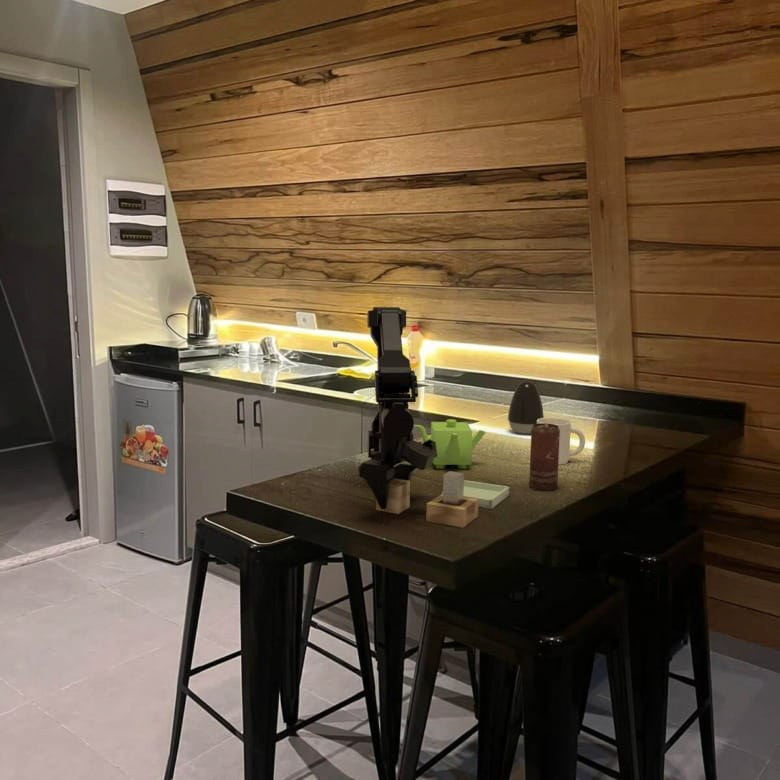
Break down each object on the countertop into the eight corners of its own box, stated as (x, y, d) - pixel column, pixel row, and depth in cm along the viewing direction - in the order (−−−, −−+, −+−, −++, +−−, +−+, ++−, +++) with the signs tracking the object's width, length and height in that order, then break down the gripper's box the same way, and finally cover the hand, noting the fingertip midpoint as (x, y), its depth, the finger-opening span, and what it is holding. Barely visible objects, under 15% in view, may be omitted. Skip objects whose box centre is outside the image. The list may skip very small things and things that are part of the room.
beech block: (376, 510, 160) (376, 483, 159) (387, 503, 164) (387, 477, 163) (398, 513, 157) (398, 487, 156) (409, 507, 162) (409, 480, 161)
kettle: (454, 476, 185) (455, 429, 183) (408, 465, 194) (408, 420, 192) (491, 464, 196) (493, 419, 194) (446, 454, 205) (447, 411, 203)
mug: (582, 458, 202) (584, 418, 201) (585, 467, 194) (587, 425, 193) (534, 456, 204) (536, 417, 202) (535, 464, 196) (537, 423, 194)
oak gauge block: (426, 521, 153) (426, 503, 152) (442, 510, 160) (442, 493, 159) (463, 527, 150) (463, 509, 149) (477, 516, 156) (478, 499, 156)
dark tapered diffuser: (548, 431, 233) (551, 380, 231) (534, 438, 225) (536, 384, 222) (516, 427, 239) (518, 377, 236) (501, 433, 230) (503, 381, 228)
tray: (441, 500, 166) (441, 492, 166) (461, 487, 176) (462, 479, 175) (491, 509, 161) (491, 500, 161) (509, 495, 171) (509, 486, 170)
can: (553, 483, 180) (556, 422, 178) (560, 491, 174) (563, 428, 171) (526, 482, 180) (528, 422, 178) (532, 491, 174) (535, 428, 171)
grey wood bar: (442, 519, 154) (443, 474, 153) (448, 515, 157) (449, 471, 155) (456, 522, 153) (457, 476, 151) (462, 517, 155) (464, 473, 154)
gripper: (409, 441, 146) (408, 523, 149) (450, 423, 162) (448, 497, 165) (356, 434, 151) (356, 513, 154) (401, 417, 167) (400, 489, 170)
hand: (393, 503), depth 160 cm, fingers open, 8 cm apart
